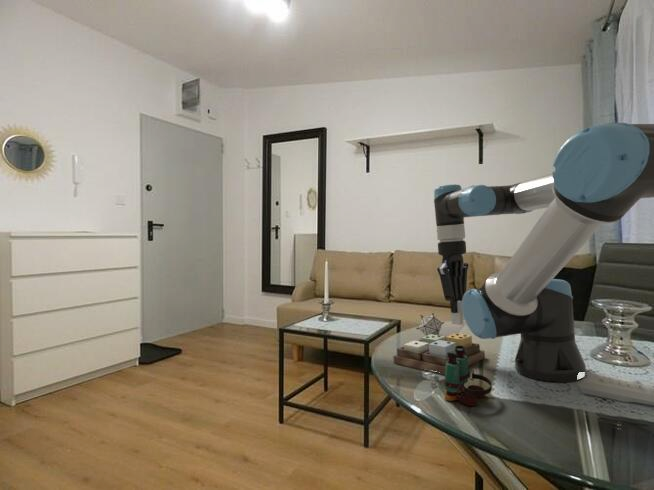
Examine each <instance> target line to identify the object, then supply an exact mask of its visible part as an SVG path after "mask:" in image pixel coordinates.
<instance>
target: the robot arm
mask: <svg viewBox="0 0 654 490" xmlns="http://www.w3.org/2000/svg"><path fill="white" fill-rule="evenodd" d="M552 167H554V171H552V173H548V174H544V175H541V176H538V177H535V178H532V179H528V180H525V181H521V182H517V183H514V184H511V185H510V184H509V185H495V186H494V185H493V186H492V185H491V186H487V185H484V184H479V185H471V186H469V187H465V188H462V186H461V185H460V184H456V183H455V184H446V185H439V186H436V187H435V188H434V190H433V193H434V194H433V196H434V197H433V198H434V199H433V203H434V214H435V225H436V233H437V234H436V235H437V236H436V237H437V240H438V241H439V242H438V243H437V253H438V256H442V259H441V263H442V264H441V266H438V267H437V269H436V270H437V273H438V275H439V277H440V283H441V287H442V291H443V295H444V296H443V297H444V300H445V301H446V302H449V303H450V304H449V306H450V315H451V317H450V318H451V325H458V326H462V325H464V320H465V323H466V325H467V327H468V329H469V330H470V331H471V333H472V334H473V335H474V336H475V337H477V338H479V339H482V340H486V339H488V340H489V339H492V340H493V339H496V338H502V337H508V336H512V335H513V336H514V335H520V341H519V343H518V347H517V351H516V354H515V358H514V368H516V369H515V371H516V370H517V371H518V372H520V373H521V374H520V373H519V374H520V375H522V374H523V375H522V376H524V375H525V376H524V377H526V376H528V377H527V378H530V377H532V378H531V379H533V378H535V379H534V380H537V379H540V380H539V381H543V380H545V382H551V381H555V383H568V382H569V383H570V382H575V381H576V380H577V375H578V373H579V372H586V373H587V366H586V362H585V361H584V358H583V356H582V354H581V352H580V349H579V347H578V344H577V343H576V336H575V335H576V334H575V333H576V332H575V319H574V304H573V303H574V300H573V299H574V296H573V295H572V294H573V293H572V288H571V284H570V283H569V282H568V281H566V280H564V279H559V278H558V279H557V278H555V277H556V276H557V275H558V274H559V272H560V271H562V269H563V268H564V267H565V266H566V265H567V264H568V263H569V261H571V260H572V258H573V257H574V256H575V255H576V254H577V253H578V251H579V250H580V249H581V248H582V247H583V246H584V245H585V244H586V243H587V242H588V241H589V239H590V238H591V237H592V236H594V234H595V233H596V231H598V229H600V227H601V226H602V225H603V224H613V223H617V222H619V221H620V220H621V219H622V218H623V217H624V216H625V215H626V214H627V213H628V212H629V211H630V210H631V208H633V206H634V205H635V204H636V203H637V202H638V201H639V200H641V199H645V198H646V199H647V198H649V199H650V198H654V123H627V122H626V123H625V122H609V123H605V124H596V125H591V126H588V127H585V128H583V129H581V130H578V131H577V132H575V133H574V134H573V135H571V136H570V137H569V138H568V139H567V140H566V141H565V142H564V143H563V144H562V146H561V147H560V148H559V150H558V151H557V153H556V155H555V157H554V161H553V165H552ZM545 208H546V210H545V211H544V212H543V214H542V215H541V216H540V218H539V219H538V220H537V222H536V223H535V224H534V226H533V227H532V229H531V230H530V231H529V233H528V234H527V236H526V237H525V239H524V240H522V242H521V243H520V245H519V246H518V248H517V250H516V251H515V253H513V255H512V256H511V258H510V259H509V261H508V262H507V263H506V264H505V266H504V267H503V269H502V270H501V272H495V273H493V274H491V275H490V276H488V277H487V279H486V280H485V281H484V283H483V284H482V286H481V287H479V288H471V289H469V290H467V285H468V284H467V282H468V281H467V280H468V269H469V263H468V262H464V256H463V255H464V254H467V242H466V241H465V240H464V239H465V238H466V231H465V230H466V229H465V218H474V217H486V216H487V217H488V216H499V215H514V214H515V215H521V214H523V215H524V214H526V213H531V212H533V211H535V210H541V209H545ZM517 371H516V372H517ZM518 372H517V373H518ZM577 381H578V380H577Z"/></svg>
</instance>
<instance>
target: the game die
mask: <svg viewBox="0 0 654 490" xmlns="http://www.w3.org/2000/svg"><path fill="white" fill-rule="evenodd" d="M420 317H421V319H420V321H419V322H420V323H419V325H418V327H416V330H419V331H421V333H422V334H424V335H425V336H427V335H430V334H433V335H440V332H441V328H442V326H443V324H445V322H444V321H443V322H441V321H440V319H438V318H437V317H436V316H435V315H434V313H432V314H431V315H422V314H420Z"/></svg>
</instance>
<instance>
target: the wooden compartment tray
mask: <svg viewBox="0 0 654 490" xmlns="http://www.w3.org/2000/svg"><path fill="white" fill-rule="evenodd" d="M445 340H446V338H445ZM418 341H420V342H422V341H421V339H419V340H418ZM480 346H481V345H480V343H475V342H472V346H471V347H469V348H467V349H465V352H464V355H465V356H467V357H468V368H469V367H471V366H472V365H474V364H476V363H479V362H481V361H482V360H484V359H485V358H486V356H485V355H486V354H485V350H481V348H480ZM396 351H397V354H395V355H393V356H392V358H393V363H394V364H397V365H402V366H405V367H410V368H413V369H418V370H421V371H424V370H423V369H426V370H433V371H437V372H440V373H441V374H440V375H442V374H443V375H442V376H445V372H446V370H445V366H446V362H447V361H448V358H444V357H439V356H434V355H430V354H429V349H426V350H424V351H422V352H414V351H409V350H404V345H403V346H401V347H398V348H396ZM483 358H484V359H483ZM426 370H425V371H426Z"/></svg>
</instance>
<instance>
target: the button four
mask: <svg viewBox="0 0 654 490" xmlns="http://www.w3.org/2000/svg"><path fill="white" fill-rule="evenodd" d="M472 337H473V336H472V335H469V334H462V333H453V334H449V335H448V336H445V339H446V341H449V342H455V343H456V346H458V345H461V346H464V347H465V349H467V348H469V347H471V346H472V343H473V338H472Z"/></svg>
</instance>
